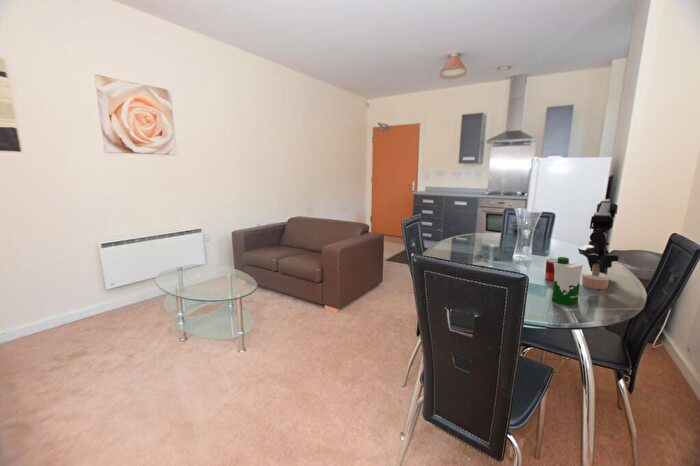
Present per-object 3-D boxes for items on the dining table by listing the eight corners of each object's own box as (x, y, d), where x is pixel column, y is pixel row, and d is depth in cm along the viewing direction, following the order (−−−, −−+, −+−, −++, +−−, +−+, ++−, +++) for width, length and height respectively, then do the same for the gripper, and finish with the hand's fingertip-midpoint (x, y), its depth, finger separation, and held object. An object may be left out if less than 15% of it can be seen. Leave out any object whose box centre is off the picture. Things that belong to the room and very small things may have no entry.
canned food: (557, 283, 160) (558, 263, 158) (541, 279, 167) (543, 259, 165) (565, 280, 163) (567, 260, 161) (550, 276, 170) (551, 257, 168)
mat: (586, 285, 155) (586, 284, 155) (608, 296, 142) (608, 295, 141) (558, 286, 156) (558, 285, 156) (576, 296, 142) (576, 296, 142)
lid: (598, 272, 158) (599, 261, 157) (615, 280, 148) (617, 268, 146) (576, 273, 159) (577, 262, 158) (591, 280, 148) (593, 268, 147)
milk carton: (560, 297, 143) (564, 255, 139) (581, 304, 135) (586, 260, 131) (548, 300, 139) (551, 258, 136) (568, 308, 131) (573, 263, 128)
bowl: (597, 282, 159) (598, 273, 158) (612, 289, 149) (613, 279, 148) (577, 282, 159) (578, 273, 158) (591, 290, 149) (592, 280, 149)
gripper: (569, 236, 159) (567, 265, 162) (596, 244, 141) (592, 277, 144) (592, 235, 159) (589, 264, 162) (621, 243, 140) (617, 276, 143)
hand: (596, 270), depth 153 cm, fingers open, 6 cm apart
